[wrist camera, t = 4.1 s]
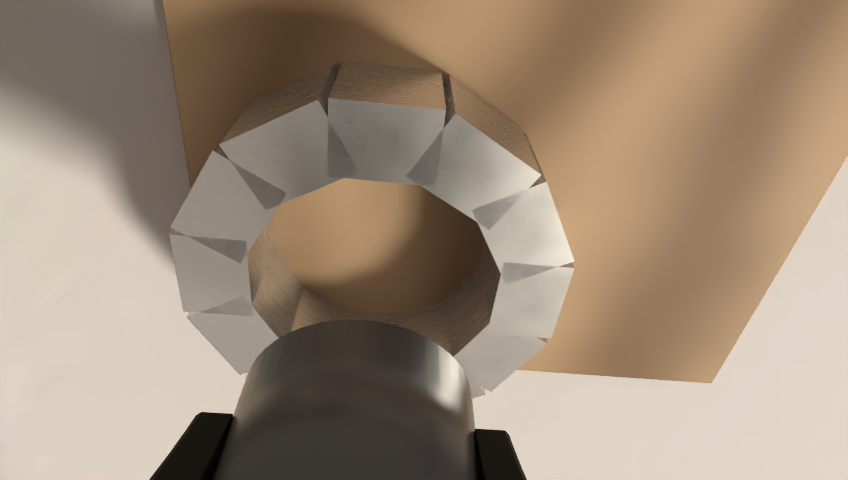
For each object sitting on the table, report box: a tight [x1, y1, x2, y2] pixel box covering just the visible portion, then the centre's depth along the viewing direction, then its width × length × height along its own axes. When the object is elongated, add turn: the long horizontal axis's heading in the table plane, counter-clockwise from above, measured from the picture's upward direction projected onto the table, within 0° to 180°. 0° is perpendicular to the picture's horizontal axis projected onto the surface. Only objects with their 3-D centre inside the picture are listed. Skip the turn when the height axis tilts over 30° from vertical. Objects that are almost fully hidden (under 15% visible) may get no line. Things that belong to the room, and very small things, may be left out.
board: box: [162, 0, 848, 383], centre depth 16 cm, size 20×20×1 cm
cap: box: [212, 320, 479, 480], centre depth 10 cm, size 5×5×4 cm
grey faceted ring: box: [169, 61, 574, 398], centre depth 17 cm, size 11×11×3 cm
